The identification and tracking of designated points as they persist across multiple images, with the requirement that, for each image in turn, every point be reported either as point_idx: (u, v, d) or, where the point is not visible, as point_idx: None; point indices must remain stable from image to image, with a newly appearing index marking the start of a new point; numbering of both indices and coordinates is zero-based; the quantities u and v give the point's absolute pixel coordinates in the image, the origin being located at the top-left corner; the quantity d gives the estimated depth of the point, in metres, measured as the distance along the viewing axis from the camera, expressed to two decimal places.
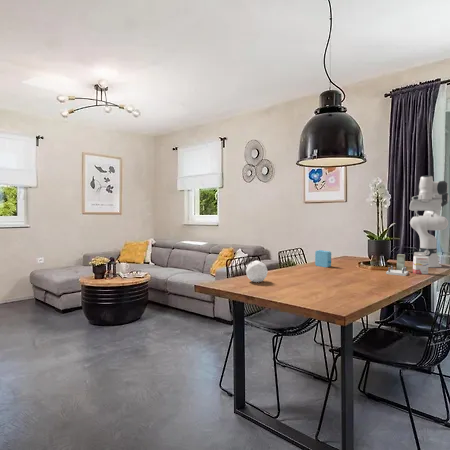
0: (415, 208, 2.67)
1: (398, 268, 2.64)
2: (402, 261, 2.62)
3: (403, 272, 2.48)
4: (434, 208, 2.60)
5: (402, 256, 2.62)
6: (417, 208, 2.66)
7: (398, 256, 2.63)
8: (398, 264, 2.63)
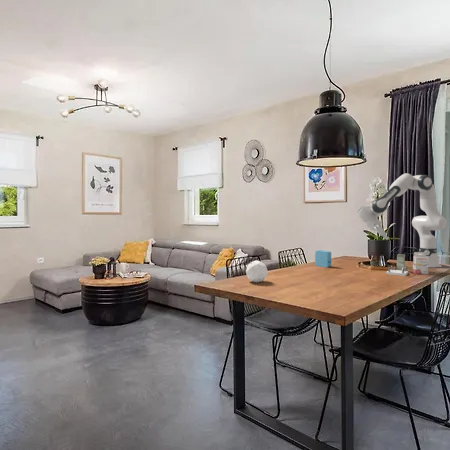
0: None
1: (398, 268, 2.64)
2: (402, 261, 2.62)
3: (403, 272, 2.48)
4: None
5: (402, 256, 2.62)
6: None
7: (398, 256, 2.63)
8: (398, 264, 2.63)
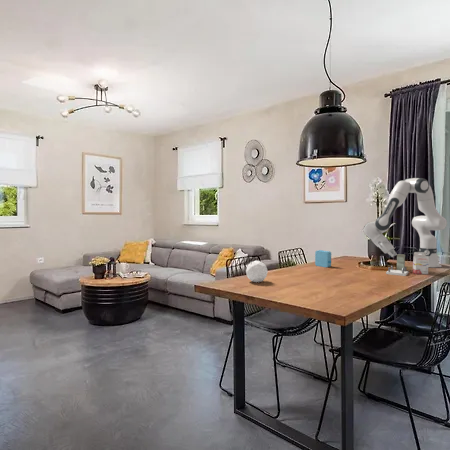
0: None
1: (398, 268, 2.64)
2: (402, 261, 2.62)
3: (403, 272, 2.48)
4: None
5: (402, 256, 2.62)
6: None
7: (398, 256, 2.63)
8: (398, 264, 2.63)
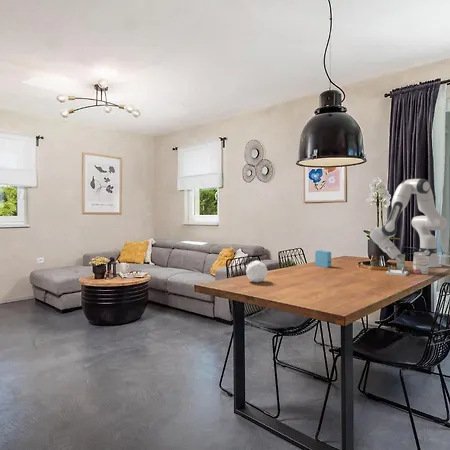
0: None
1: (398, 268, 2.64)
2: (402, 261, 2.62)
3: (403, 272, 2.48)
4: None
5: (402, 256, 2.62)
6: None
7: (398, 256, 2.63)
8: (398, 264, 2.63)
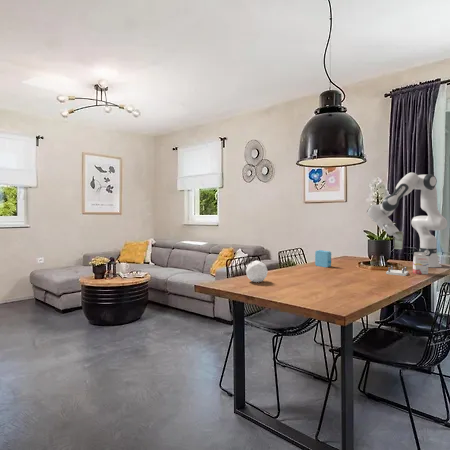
0: None
1: (396, 245, 2.56)
2: (400, 238, 2.55)
3: (403, 272, 2.48)
4: None
5: (400, 233, 2.55)
6: None
7: (396, 233, 2.56)
8: (396, 241, 2.56)
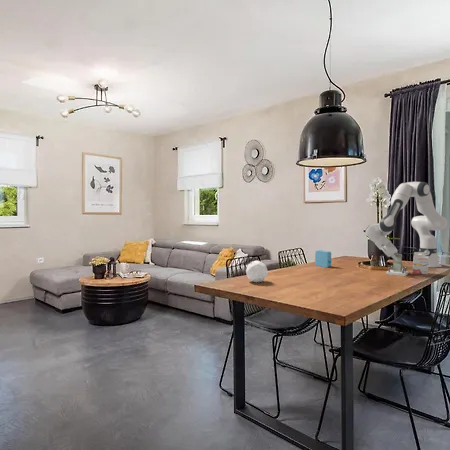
0: None
1: (395, 268, 2.54)
2: (399, 261, 2.52)
3: (403, 272, 2.48)
4: None
5: (399, 256, 2.52)
6: None
7: None
8: (395, 264, 2.54)
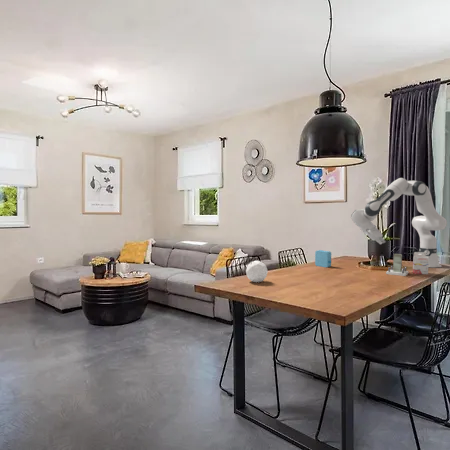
0: None
1: (395, 268, 2.54)
2: (399, 261, 2.52)
3: (403, 272, 2.48)
4: None
5: (399, 256, 2.52)
6: None
7: (395, 256, 2.53)
8: (395, 264, 2.54)
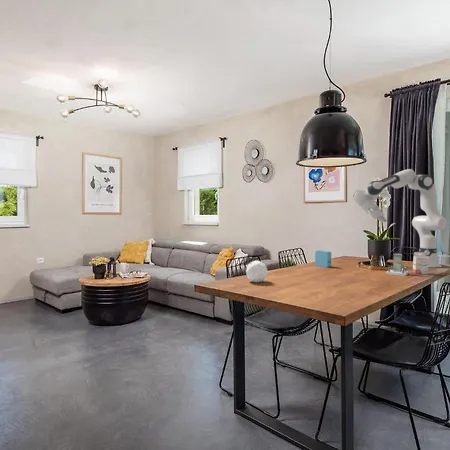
0: None
1: (395, 268, 2.54)
2: (399, 261, 2.52)
3: (403, 272, 2.48)
4: None
5: (399, 256, 2.52)
6: None
7: (395, 256, 2.53)
8: (395, 264, 2.54)
